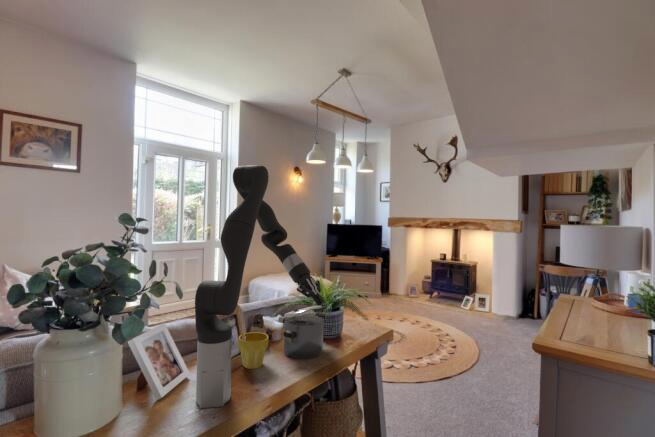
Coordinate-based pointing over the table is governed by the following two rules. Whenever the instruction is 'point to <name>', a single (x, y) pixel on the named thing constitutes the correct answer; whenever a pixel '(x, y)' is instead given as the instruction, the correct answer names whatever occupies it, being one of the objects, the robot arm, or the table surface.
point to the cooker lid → (304, 311)
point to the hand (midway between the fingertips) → (321, 304)
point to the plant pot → (253, 349)
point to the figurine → (258, 324)
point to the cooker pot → (303, 336)
